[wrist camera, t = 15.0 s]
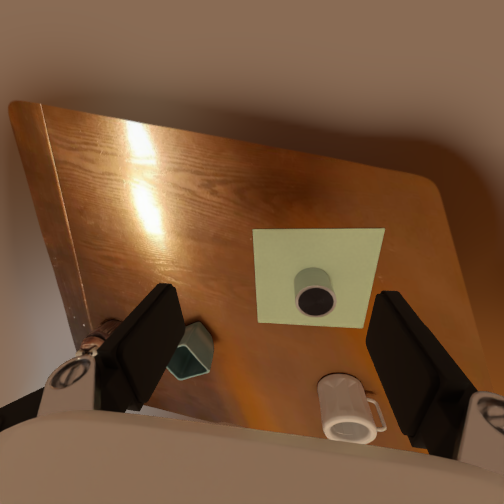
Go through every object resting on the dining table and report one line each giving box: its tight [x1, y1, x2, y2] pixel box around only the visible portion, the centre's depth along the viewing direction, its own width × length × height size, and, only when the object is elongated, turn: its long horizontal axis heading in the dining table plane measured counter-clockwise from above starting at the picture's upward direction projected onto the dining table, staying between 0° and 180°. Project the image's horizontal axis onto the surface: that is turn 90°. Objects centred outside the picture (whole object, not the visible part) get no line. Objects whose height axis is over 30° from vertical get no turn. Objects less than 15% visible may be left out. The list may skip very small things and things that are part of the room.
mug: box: [318, 374, 387, 444], centre depth 49 cm, size 14×11×10 cm
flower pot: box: [166, 322, 214, 380], centre depth 48 cm, size 9×9×9 cm
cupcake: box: [76, 320, 122, 357], centre depth 52 cm, size 10×10×10 cm
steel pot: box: [294, 268, 337, 317], centre depth 39 cm, size 7×7×6 cm
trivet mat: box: [253, 228, 385, 328], centre depth 42 cm, size 22×22×1 cm
